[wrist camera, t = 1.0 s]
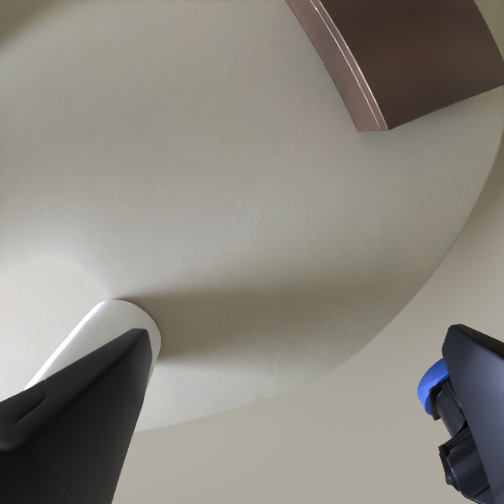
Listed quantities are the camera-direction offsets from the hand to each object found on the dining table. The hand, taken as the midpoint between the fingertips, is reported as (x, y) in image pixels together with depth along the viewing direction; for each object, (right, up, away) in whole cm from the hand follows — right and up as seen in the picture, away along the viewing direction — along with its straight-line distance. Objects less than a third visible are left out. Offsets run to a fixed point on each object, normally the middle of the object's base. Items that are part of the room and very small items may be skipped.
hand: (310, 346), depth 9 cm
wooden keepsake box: (+7, +16, +8) cm, 19 cm away
